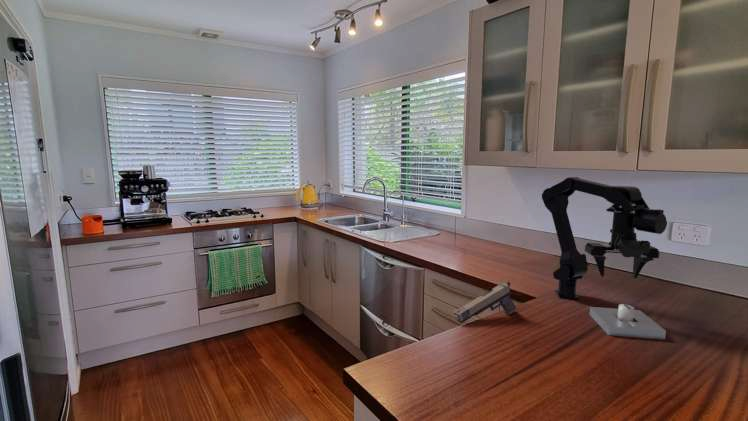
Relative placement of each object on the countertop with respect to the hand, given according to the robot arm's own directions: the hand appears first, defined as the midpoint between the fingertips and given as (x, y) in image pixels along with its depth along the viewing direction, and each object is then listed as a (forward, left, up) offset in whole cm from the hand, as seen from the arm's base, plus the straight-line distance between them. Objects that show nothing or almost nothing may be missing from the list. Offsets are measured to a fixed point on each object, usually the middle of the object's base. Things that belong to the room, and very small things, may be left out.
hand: (618, 277), depth 117 cm
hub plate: (+9, -1, -12) cm, 15 cm away
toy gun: (+10, -40, -12) cm, 43 cm away
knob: (+9, -1, -12) cm, 15 cm away
